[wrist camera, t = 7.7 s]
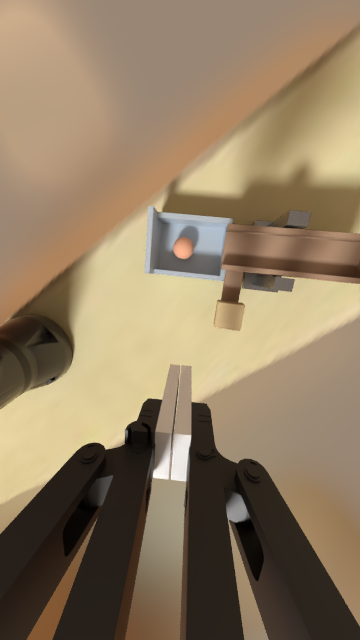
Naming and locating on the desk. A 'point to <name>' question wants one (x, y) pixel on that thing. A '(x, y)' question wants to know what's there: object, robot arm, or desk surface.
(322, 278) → the lever
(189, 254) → the ball
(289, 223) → the fulcrum
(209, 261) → the bin
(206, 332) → the desk surface
